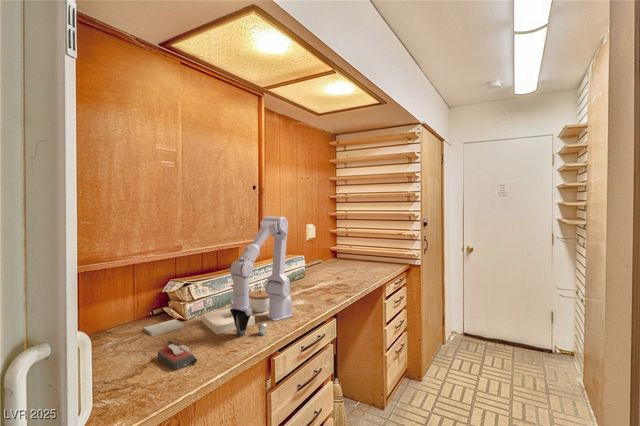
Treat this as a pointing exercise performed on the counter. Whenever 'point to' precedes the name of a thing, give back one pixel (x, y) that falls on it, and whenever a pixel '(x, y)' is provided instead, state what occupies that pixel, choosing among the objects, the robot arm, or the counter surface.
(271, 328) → the counter surface
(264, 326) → the short pin
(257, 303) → the lidded jar
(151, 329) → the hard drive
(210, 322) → the hole block
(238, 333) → the tall pin
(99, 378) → the counter surface
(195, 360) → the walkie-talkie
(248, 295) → the robot arm
